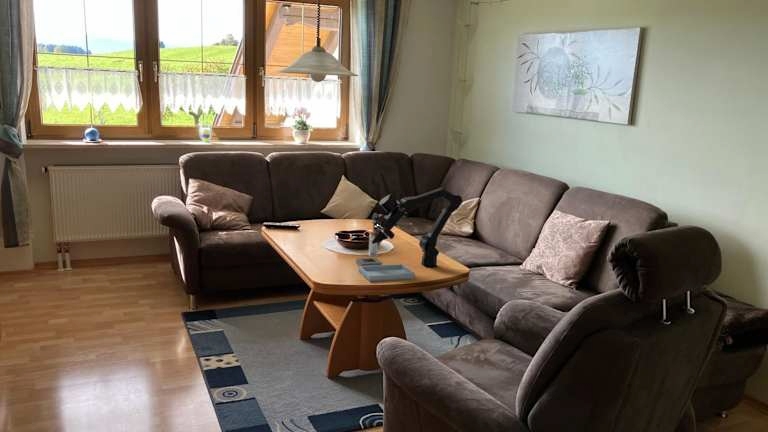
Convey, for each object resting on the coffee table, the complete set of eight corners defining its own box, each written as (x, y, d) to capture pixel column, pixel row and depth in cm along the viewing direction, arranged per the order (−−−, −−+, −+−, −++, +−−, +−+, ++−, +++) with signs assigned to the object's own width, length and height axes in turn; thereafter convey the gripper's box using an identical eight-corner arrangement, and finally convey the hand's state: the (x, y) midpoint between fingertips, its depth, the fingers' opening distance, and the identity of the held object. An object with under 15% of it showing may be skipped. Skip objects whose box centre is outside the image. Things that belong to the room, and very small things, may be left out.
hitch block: (375, 262, 312) (375, 257, 311) (381, 267, 302) (381, 262, 302) (356, 263, 308) (356, 258, 308) (362, 268, 299) (362, 263, 299)
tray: (401, 268, 302) (402, 263, 301) (414, 278, 287) (414, 273, 287) (358, 271, 294) (358, 266, 294) (369, 281, 280) (369, 276, 279)
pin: (375, 253, 302) (376, 228, 300) (380, 255, 298) (381, 231, 295) (365, 254, 300) (365, 229, 297) (370, 257, 295) (371, 232, 292)
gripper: (376, 203, 304) (354, 226, 302) (388, 211, 287) (365, 235, 285) (390, 218, 308) (369, 241, 307) (404, 227, 291) (381, 251, 289)
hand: (370, 241), depth 297 cm, fingers closed on pin, 5 cm apart
